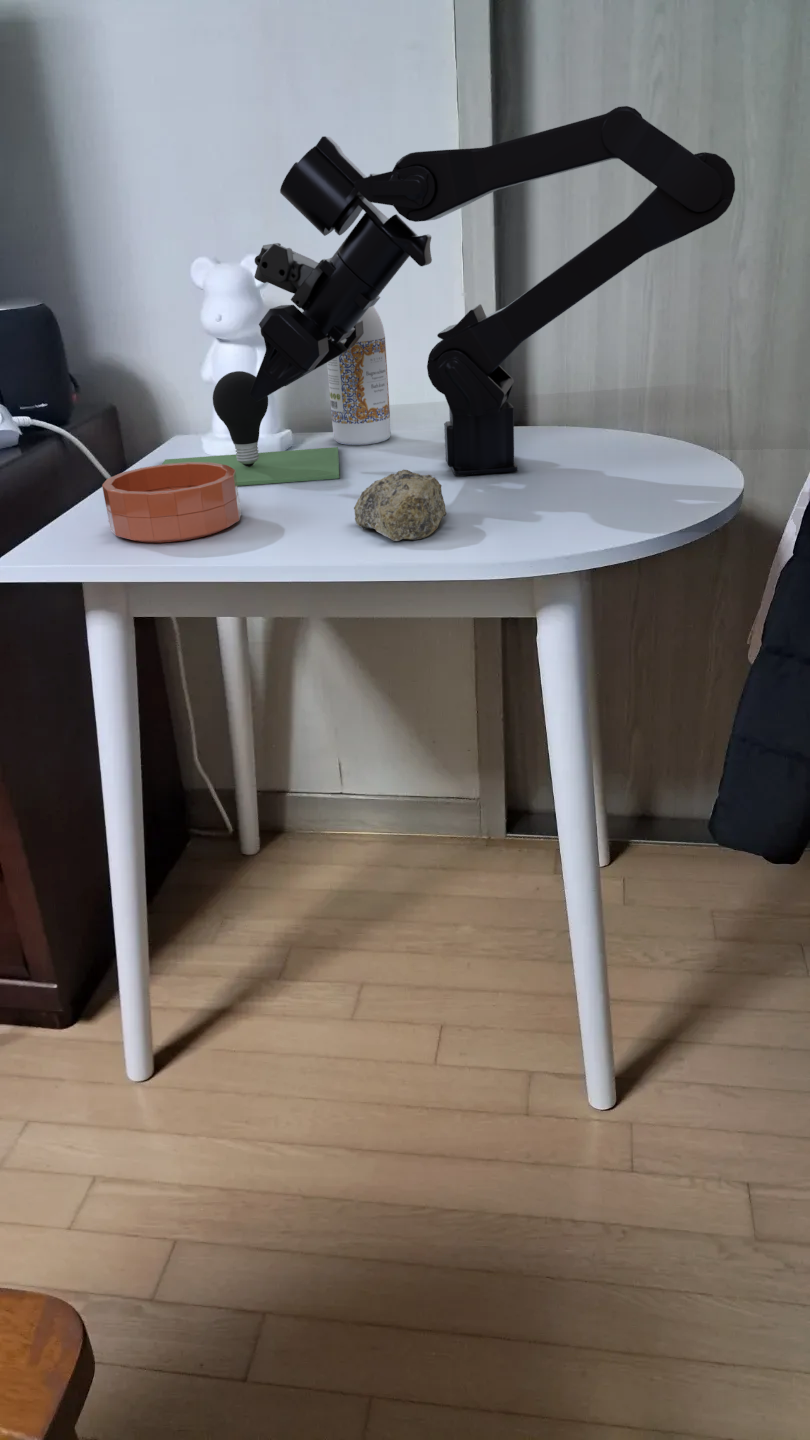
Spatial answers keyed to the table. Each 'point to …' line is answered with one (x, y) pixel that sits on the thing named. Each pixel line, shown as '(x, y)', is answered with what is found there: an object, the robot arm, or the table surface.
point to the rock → (402, 506)
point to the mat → (279, 466)
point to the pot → (172, 501)
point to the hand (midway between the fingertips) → (267, 390)
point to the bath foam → (361, 387)
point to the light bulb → (240, 413)
